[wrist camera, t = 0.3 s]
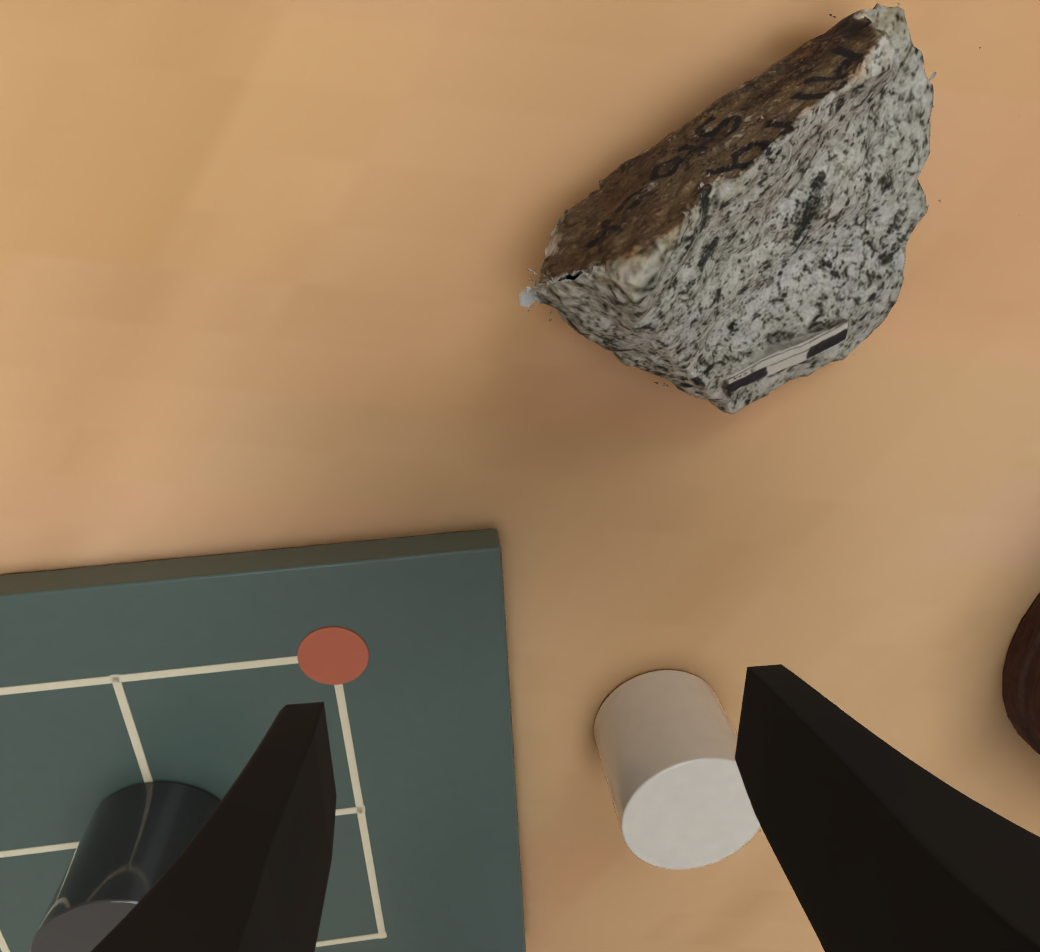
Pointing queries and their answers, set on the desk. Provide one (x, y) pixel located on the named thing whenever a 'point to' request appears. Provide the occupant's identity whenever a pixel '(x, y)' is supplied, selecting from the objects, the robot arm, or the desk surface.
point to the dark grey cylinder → (120, 861)
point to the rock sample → (757, 222)
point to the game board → (254, 706)
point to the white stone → (673, 771)
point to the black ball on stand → (1024, 678)
